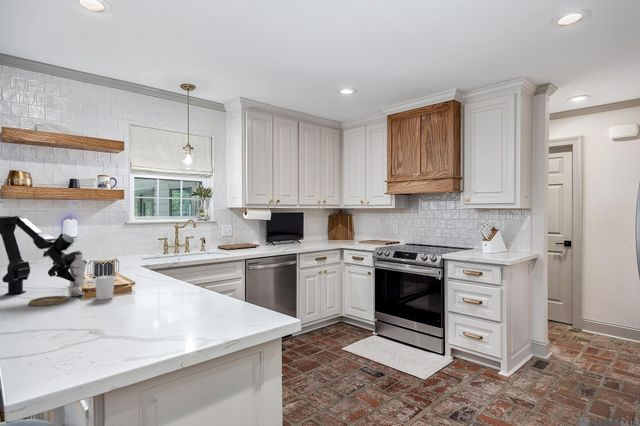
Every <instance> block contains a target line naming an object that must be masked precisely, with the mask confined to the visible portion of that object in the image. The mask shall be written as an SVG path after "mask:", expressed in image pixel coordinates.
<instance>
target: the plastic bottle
mask: <svg viewBox="0 0 640 426" xmlns="http://www.w3.org/2000/svg"><path fill="white" fill-rule="evenodd" d="M75 256H76V258H74V260H73V261H72V263H71V264H70V269H69V272H70V274H71V275H72V276H73V278H74V279H75V282H72V281H70V282H69V287H68V295H69V296H72V297H73V296H74V297H78V296H83V295H84V294H83V293H82V291H81V290H80V289H79V287H80V286H82V285H84V286H85V279H84V277H85V271H86V266H87V264H85V262H84V261H83V260H84V259H83V253H82V254H80V255H75Z"/></svg>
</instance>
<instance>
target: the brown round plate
mask: <svg viewBox="0 0 640 426" xmlns="http://www.w3.org/2000/svg"><path fill="white" fill-rule="evenodd" d="M68 301H69V299H68V296H65V295H50V296H42V297H36V298H32V299H30V300H29V302H28V303H27V304H28V305H27V306H30V307H48V306H57V305H61V304H65V303H66V302H68Z"/></svg>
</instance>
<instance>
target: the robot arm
mask: <svg viewBox="0 0 640 426" xmlns="http://www.w3.org/2000/svg"><path fill="white" fill-rule="evenodd" d="M17 227H18V228H19V229H20V230H22V231H23V232H24V233H25V234H27V235H28V236H29V237H30V238H31V239H32V242H33V244H34V245H35V247H36V248H38V249H39V250H45V251H43V255H42V256H43V258H46V257H49V258H50V259H51V261H52V266H51V267H50V268H49V270H48V271H47V274H48V276H49V277H51V278H52V277H57V278H60V279H64V280H66V281H72V282H75V279H74V278H73V276H72V275H71V273H70V264H71V263H72V261H73V260H74V258H76V256H75V255H80V254H82V255H83V253H82V251H80V250H76V251H72V252H70V253H65V252H64V251H67V250H68V249H69V248H70V247H71V246H72V245H73V244H74V242H75V239H74V237H73V236H71V235H69V234H66V233H65V232H64V233H61V234H59V235H58V237H57V238H55V237H53V236H52V235H50V234H48V233H45V232H43V231H42V230H40V229H39V228H38V227H37V226H36V225H34V224H33V223H32V222H31V221H30V220H28V218H27V216H24V215H14V216H10V215H5V216H0V235H1V236H0V237H1V239H2V242H3V246H4V249H5V252H6V255H7V260H8V265H7V267H6V268H7V269H6V270H7V271H6V272H7V273H6V274H5V275H4V276H3V277H2V283H7V292H5V293H4V295H5V296H7V295H8V296H9V295H21V294H24V293H26V291H27V290H24V281H27V280H28V278H29V275H30V274H31V270H32V268H31V267H30V263H29V261H25V260H23V258H22V256H21V252H20V248H19V246H18V242H17V238H16V234H15V230H16V228H17ZM46 249H47V250H46ZM82 260H83V261H84V262H85V264H86V265H87V264H88V261H86V260H85V259H82ZM85 278H86V277H85V276H84V280H86V279H85Z"/></svg>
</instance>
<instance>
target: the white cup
mask: <svg viewBox="0 0 640 426" xmlns="http://www.w3.org/2000/svg"><path fill="white" fill-rule="evenodd" d="M94 281H95V293H96V296H95V297H96V300H101V301H102V300H103V301H104V300H109V299H112V298H113V297H114V291H115V290H114V289H115V276H114V275H100V276H95V279H94Z"/></svg>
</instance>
